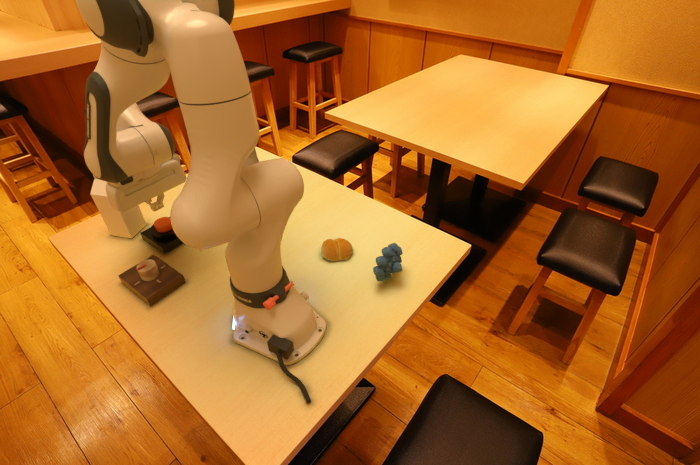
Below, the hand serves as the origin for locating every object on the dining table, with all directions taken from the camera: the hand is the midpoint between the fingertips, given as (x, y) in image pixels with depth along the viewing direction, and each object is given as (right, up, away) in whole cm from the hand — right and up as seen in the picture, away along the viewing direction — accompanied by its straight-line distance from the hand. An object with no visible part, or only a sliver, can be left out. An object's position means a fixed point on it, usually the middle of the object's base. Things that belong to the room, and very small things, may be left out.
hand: (158, 208), depth 105 cm
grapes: (+65, -20, -4) cm, 68 cm away
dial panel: (+3, -20, -7) cm, 21 cm away
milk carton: (-14, -6, +10) cm, 18 cm away
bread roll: (+50, -13, +3) cm, 52 cm away
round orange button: (0, -5, +4) cm, 7 cm away
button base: (0, -8, +7) cm, 11 cm away
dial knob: (+3, -18, -9) cm, 20 cm away
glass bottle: (+23, -2, +15) cm, 28 cm away
